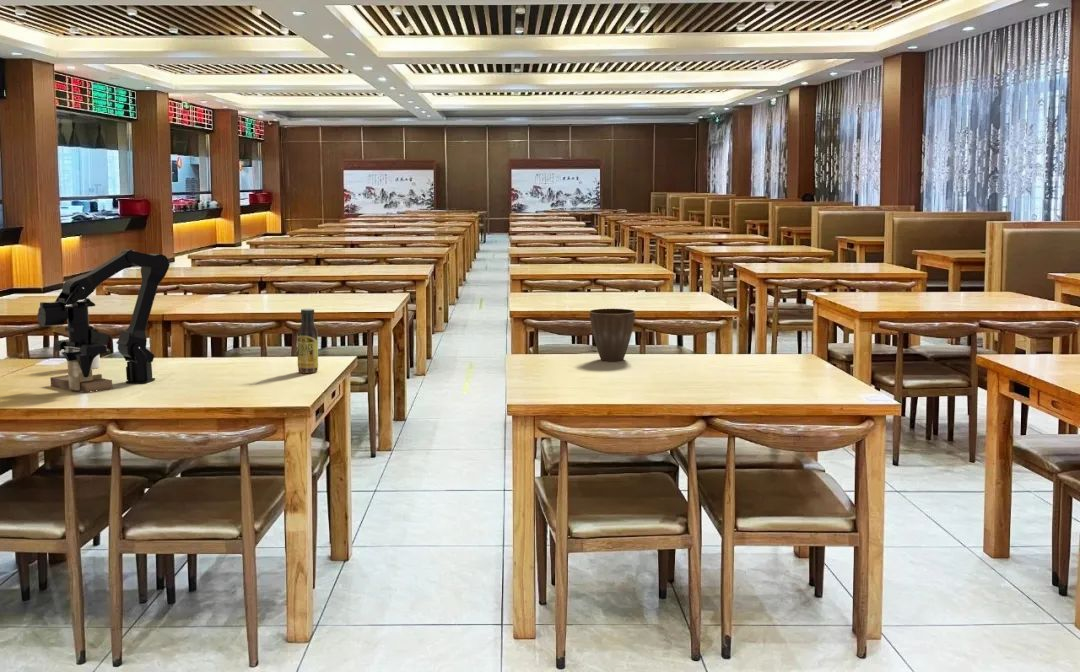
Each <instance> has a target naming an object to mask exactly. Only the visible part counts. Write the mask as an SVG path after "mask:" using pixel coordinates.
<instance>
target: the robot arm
mask: <svg viewBox="0 0 1080 672" xmlns="http://www.w3.org/2000/svg"><path fill="white" fill-rule="evenodd" d="M131 265H134V266H137V267H140V275H141V283H140V288H139V290H138V293H137V294H138V295H137V298H136V301H135V306H134V308H133V311H132V316H131V320H130V323H129V326H128V327H127V329H126V330H120V332H119V336H118V339H117V341H116V344H117V350H118V352H119V354H120V355H121V356H123V358H124V360H125V361H126V366H125V374H126V376H125V377H126V380H125V381H124V382H125V384H147V383H150V382H152V381H155V380H156V378H155V377H153V368H152V367H153V366H152V365H153V364H152V363H153V362H154V358H155V354H154V353H152V351H150V350H149V349H148V348H147V344H148V343H147V342H148V340H147V331H146V329H147V325H148V321H149V318H150V315H151V312H152V308H153V304H154V301H155V297H156V293H157V291H158V287H159V285H160V284H161V282H162V281H163V279H164V278H165V276H166V275H167V273H168V271H169V269H170V260H169V258H168V257H167V256H166V255H164V254H159V253H144V252H139V251H136V250H134V249H123V250H122V251H121V252H120V253H118V254H117V255H115V256H113V257H111V258H110V259H109V260H107V261H105V262H104V263H102V264H101V265H99V266H97V267H96V268H94V269H92V270H91V271H89V272H87V273H84V274H81V275H78V276H74V277H72V278H70V279H68V280H67V279H66V280H65V281H64V282H63V283H62V290H61V292H60V293H59V295H58V296H57V298H56V299H55V301H50V302H45V301H43V302H40V303H39V307H38V310H37V311H38V312H37V316H36V317H37V321H38V324H39V325H40V326H41V327H42V328H43V327H51V326H52V327H53V326H61V325H62V326H63V325H64V324H65V322H67V326H64V331H66V332H68V335H67V336H68V339H60V340H59V339H58V340H55V341H56V342H54V344H53V345H54V347H53V349H54V351H56V352H61V351H62V350H63V351H62V352H61V355H63V357H64V358H65V360H66V361H73V360H78V362H79V365H80V368H81V370H82V373H83V375H84V377H88V376H89V373H90V369H91V365H92V362H93V359H94V358H95V357H96V356H97V355H99V354H100V355H102V354H107V353H108V351H107V349H108V347H107V346H108V344H109V341H110V336H111V335H110V334H108V333H103V332H99V329H96V328H94V327H93V325H90V316H89V307H91V308H92V307H96V303H94V302H93V301H92V300H91V299H90V298H88V297H89V296H90V295H92V293H93V292H95V290H96V289H97V287H98V286H100V285H101V284H102V283H104V282H106V281H107V280H108V279H110V278H112V277H113V276H115V275H116V274H118V273H119V272H121V271H122V270H124V269H126V268H127V267H130V266H131Z"/></svg>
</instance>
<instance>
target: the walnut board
mask: <svg viewBox="0 0 1080 672" xmlns="http://www.w3.org/2000/svg"><path fill="white" fill-rule="evenodd" d="M49 379H50V380H49V381H50V386H51V385H52V386H51V387H55V386H56V388H60V387H62V388H61V389H65V388H66V390H70V389H69V376H68V374H65V375H58V376H51V377H50V378H49ZM79 383H80V390H77V391H76V392H80V391H83V392H82V393H85V392H89V393H91V392H90V391H95V392H97V391H96V390H101V391H104V390H103V389H107V390H111V389H110V388H113V380H112V379H107V378H103V377H102V378H98V379H93V380H91V381H85V382H79Z"/></svg>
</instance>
